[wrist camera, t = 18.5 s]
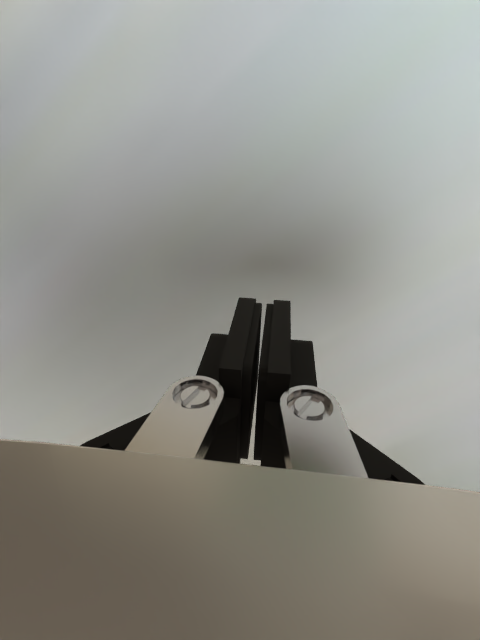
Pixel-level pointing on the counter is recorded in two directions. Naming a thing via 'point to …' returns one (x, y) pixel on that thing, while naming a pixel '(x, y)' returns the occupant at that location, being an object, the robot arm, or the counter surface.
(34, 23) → the counter surface
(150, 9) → the counter surface
